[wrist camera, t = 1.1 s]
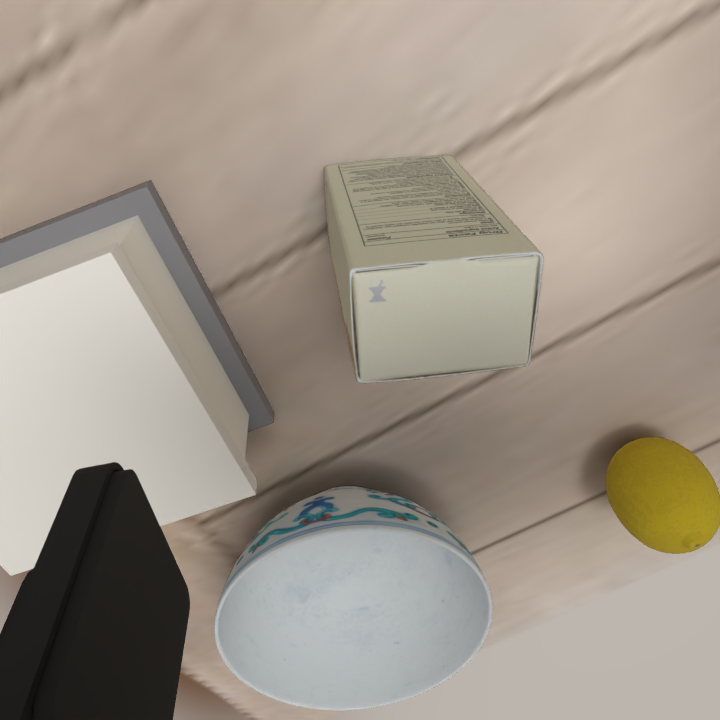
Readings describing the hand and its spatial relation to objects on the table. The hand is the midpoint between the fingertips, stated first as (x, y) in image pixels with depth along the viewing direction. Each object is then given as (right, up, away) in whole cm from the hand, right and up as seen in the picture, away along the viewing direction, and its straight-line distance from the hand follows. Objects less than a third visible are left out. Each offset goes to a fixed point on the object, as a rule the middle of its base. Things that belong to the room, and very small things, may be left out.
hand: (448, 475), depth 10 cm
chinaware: (-2, -9, +32) cm, 34 cm away
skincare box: (0, +9, +22) cm, 24 cm away
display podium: (-15, +2, +24) cm, 29 cm away
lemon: (+15, -3, +31) cm, 35 cm away
